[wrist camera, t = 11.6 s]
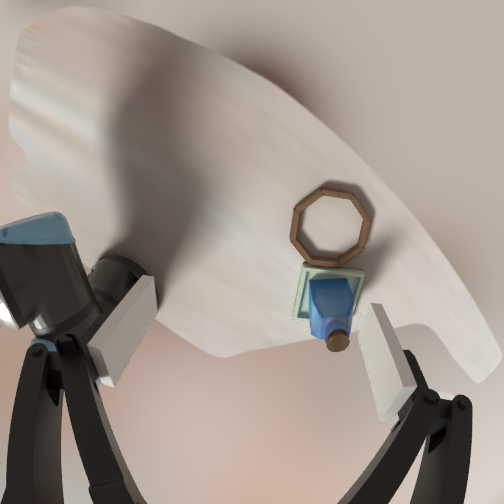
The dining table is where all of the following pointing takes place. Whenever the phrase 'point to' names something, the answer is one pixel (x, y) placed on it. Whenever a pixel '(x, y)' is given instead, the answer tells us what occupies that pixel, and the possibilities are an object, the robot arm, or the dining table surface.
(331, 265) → the ring
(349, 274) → the tray
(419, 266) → the dining table surface
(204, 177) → the dining table surface
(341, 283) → the perfume bottle
